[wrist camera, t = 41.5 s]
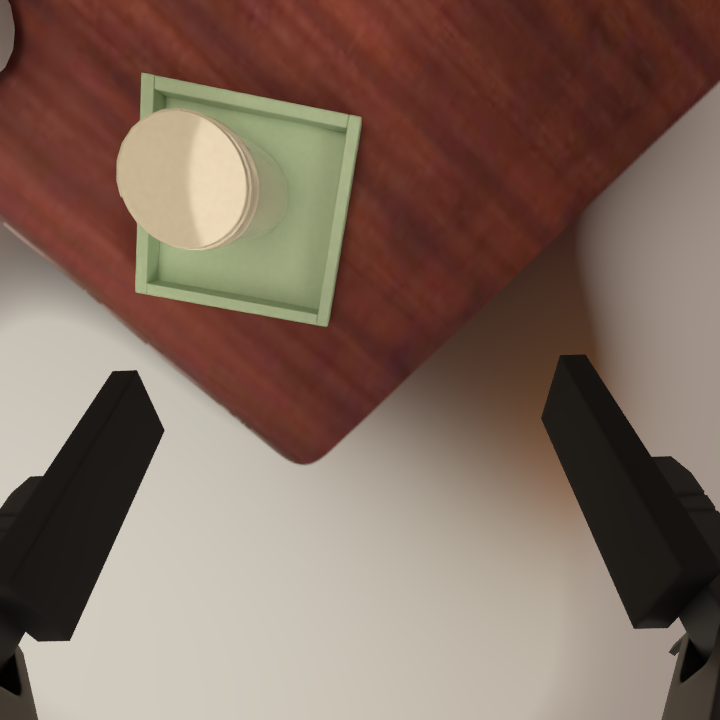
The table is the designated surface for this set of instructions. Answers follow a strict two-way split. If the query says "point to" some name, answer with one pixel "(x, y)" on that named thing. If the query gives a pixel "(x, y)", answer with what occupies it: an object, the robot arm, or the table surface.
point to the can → (6, 33)
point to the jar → (199, 181)
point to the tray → (294, 233)
